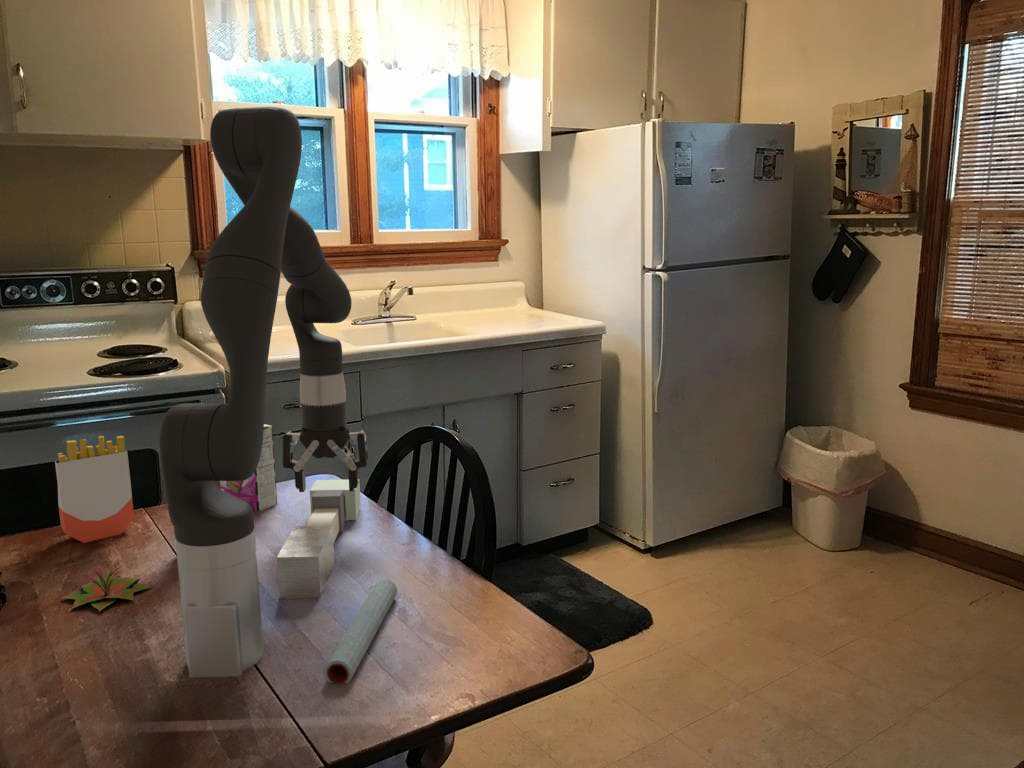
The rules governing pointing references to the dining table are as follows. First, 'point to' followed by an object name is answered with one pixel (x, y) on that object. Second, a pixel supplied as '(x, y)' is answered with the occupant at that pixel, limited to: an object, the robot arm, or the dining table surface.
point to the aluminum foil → (360, 633)
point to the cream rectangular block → (305, 562)
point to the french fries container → (94, 490)
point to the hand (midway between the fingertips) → (327, 490)
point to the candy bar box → (257, 479)
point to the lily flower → (106, 590)
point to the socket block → (350, 497)
